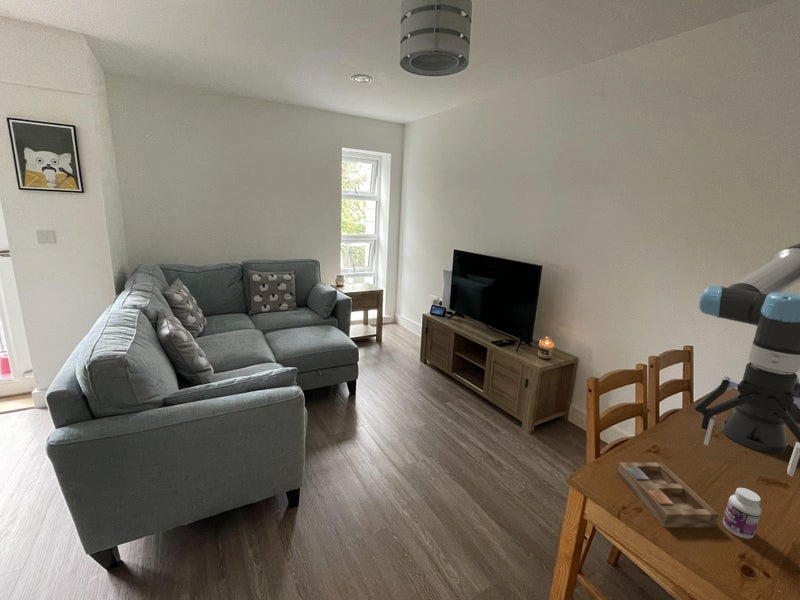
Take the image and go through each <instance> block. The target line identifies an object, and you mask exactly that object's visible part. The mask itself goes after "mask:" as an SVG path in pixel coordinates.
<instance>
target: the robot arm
mask: <svg viewBox="0 0 800 600" xmlns="http://www.w3.org/2000/svg"><path fill="white" fill-rule="evenodd" d="M796 283H800V243H797V244H793V245H790V246H788V247H786V248H784V249H782V250H780V251H779V252H777V253H775V254H774V256H772V259H771V260H770V262H767V263H766V264H765V265H763V266H761V267H759V268H758V269H756V270H754V271H753V272H751V273H750V274H748V275H745V276H744V277H743V278H741V279H740V280H737V281H736V282H734V283H732V284H731V285H729V286H727V287H725V286H723V285H720V286H718V285H710V286H709V285H708V287H705V288H704V290H703V291H702V293H701V295H700V298H699V302H698V303H699V304H698V306H699V307H698V308H699V310H700V312H701V313H703V314H705V315H708V316H711V317H714V318H718V319H725V320H729V321H734V322H739V323H743V324H746V325H747V324H749V325H752V326H756V330H755V333H754V337H753V341H752V344H751V348H750V352H749V355H748V359H747V361H749V362H748V363H747V364H746V365H745V370H744V373H743V377H742V380H741V381H739V382H738V381H735V380H731V378H729V377H727V376H725V377H723V378H722V380H721V383H720V385H718V386H717V387H716V388H715V389H713V390H712V391H711V392H710V393H708V395H706V396H705V397H704V398H702V399H701V400H700V401H699V402H698V403H697V404H696V406H695V408H694V409H695V411H696V412H697V413H701V414H702V417H703V418H702V422H701V424H700V425H701V429H702V430H706V434H705V437H704V441H703V445H705V446H709V442H710V439H711V436H712V431H713V428H714V423H715V421H716V417H717V415H719V414H721V413H724V412H726V411H729V410H731V409H733V410H732V411H731V413H729V415H728V416H727V417H726V419H725V420H724V421H723V423H722V425H721V431H722V433H723V434H724V435H725V436H726V437H728V438H729V439H731V440H732V441H734V442H736V443H738V444H740V445H742V446H745V447H747V448H750V449H753V450H756V451H758V452H759V451H760V452H763V453H768V454H770V453H771V454H783V453H784V452H786V451H787V447H788V441H787V436H786V435H787V433H786V427H785V426H787V428H788V430H790V432H791V433H792V435H794V437H795V438H796V440H797V441H796V442H795V443H794V444H795V445H794V447H793V449H792V450H793V451H792V454H791V457H790V459H789V463H788V466H787V473H786V474H787V475H788V476H790V477H794V474H795V471H796V468H797V466H798V462H800V379H799V377H798V375H797V373H798V372H800V294H799V293H792V292H784V291H786V290H788V288H791V287H792V286H793V285H795V284H796ZM732 389H737V391H738V395H736V396H733V398H730V399H728V400H726V401H723V402H721V403H718V404H716V405H713V406H711V407H709V406H710V405H711V404H712V403H713V402H714V401H717V399H719V397H721V396H722V395H724V393H726V391H727V390H728V391H731V390H732ZM708 407H709V408H708Z"/></svg>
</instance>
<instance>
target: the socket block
mask: <svg viewBox="0 0 800 600" xmlns="http://www.w3.org/2000/svg"><path fill="white" fill-rule="evenodd" d="M616 474H617V475H618V477H620V479H621V480H622V481H623V482H624V483H625V484H626V485H627V487H628V488H629V489H630V490H631V491H632V493H634V495H635V496H636V497H637V498H638V499H639V500H640V502H641V503H642V504H643V505H644V506H645V507H646V508H647V510H648V511H649V512H650V513H651V514H652V516H654V518H656V520H657V521H658V522H659V523H660V524H661V525H662V527H663V528H716V526H717V522H718V519H719V513H718V512H717V511H716V510H715V509H713V507H711V506H710V505H709V504H708V503H707V502H705V500H704V499H703V498H702V497H700V495H698V494H697V493H696V492H695V491H694V490H693V489H692V488H691V487H690V486H688V485H687V484H686V483H685V482H684V481H683V480H682V479H681V478H679V477H678V476H677V475H676V473H674V472H673V471H672V470H671V469H670V468H668V466H667V465H665V463H663V462H656V461H655V462H650V461H649V462H643V461H642V462H641V461H640V462H637V461H636V462H634V461H632V462H626V461H624V462H619V463H618V467H617V471H616Z"/></svg>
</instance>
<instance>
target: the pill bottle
mask: <svg viewBox="0 0 800 600" xmlns="http://www.w3.org/2000/svg"><path fill="white" fill-rule="evenodd" d="M761 501H762V499H761V497H760V496H759V495H758V494H757V493H756V492H755V491H754V490H753V491H752V490H750V489H748V488H744V487H737V488H736V490H735V491H734V494H733V495H730V497H728V502H727V505H726V508H725V512H724V514H723V518H722V525H723V526H724V528H726V530H728V531H729V532H730V533H731V534H733V535H735V536H737V537H738V538H742V539H745V540H747V539H752V538H754V536H755V533H756V530H757V527H758V525H759V521H760V518H761V515H762V508H761V506H760V505H761Z"/></svg>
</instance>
